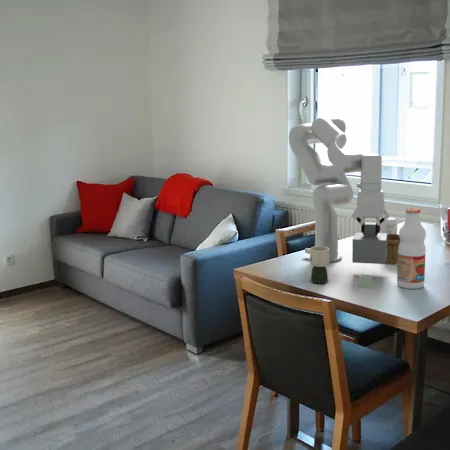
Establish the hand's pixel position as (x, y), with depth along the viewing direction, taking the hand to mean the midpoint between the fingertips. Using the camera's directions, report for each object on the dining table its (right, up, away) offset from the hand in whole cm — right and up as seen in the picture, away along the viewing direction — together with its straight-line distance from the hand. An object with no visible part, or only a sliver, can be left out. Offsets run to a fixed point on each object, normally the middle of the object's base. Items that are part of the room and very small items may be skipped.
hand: (370, 234), depth 230 cm
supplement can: (+16, -8, +35) cm, 39 cm away
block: (-4, -19, -11) cm, 22 cm away
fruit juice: (+12, -18, -12) cm, 25 cm away
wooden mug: (+16, -12, +18) cm, 27 cm away
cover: (0, -10, +2) cm, 10 cm away
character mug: (-20, -18, -4) cm, 27 cm away
